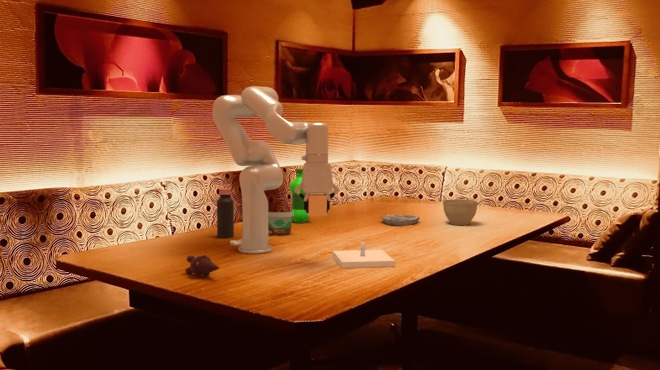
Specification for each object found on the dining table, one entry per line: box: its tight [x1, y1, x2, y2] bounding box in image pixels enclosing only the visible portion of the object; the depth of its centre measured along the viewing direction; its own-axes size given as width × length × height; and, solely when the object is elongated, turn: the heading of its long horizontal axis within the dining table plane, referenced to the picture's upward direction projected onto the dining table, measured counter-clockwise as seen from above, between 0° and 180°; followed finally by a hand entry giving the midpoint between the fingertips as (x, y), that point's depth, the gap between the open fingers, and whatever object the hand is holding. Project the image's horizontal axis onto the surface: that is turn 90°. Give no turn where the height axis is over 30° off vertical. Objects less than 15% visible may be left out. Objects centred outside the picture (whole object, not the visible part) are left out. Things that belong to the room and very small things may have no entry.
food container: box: [268, 210, 294, 237], centre depth 269 cm, size 12×6×10 cm, turn 105°
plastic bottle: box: [289, 168, 311, 224], centre depth 301 cm, size 10×10×25 cm
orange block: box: [307, 193, 328, 218], centre depth 217 cm, size 6×6×7 cm
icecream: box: [185, 254, 220, 279], centre depth 199 cm, size 7×7×15 cm
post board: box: [332, 241, 396, 269], centre depth 222 cm, size 18×18×6 cm
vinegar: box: [216, 187, 235, 239], centre depth 262 cm, size 7×7×20 cm
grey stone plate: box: [380, 214, 421, 227], centre depth 303 cm, size 20×17×3 cm
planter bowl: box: [442, 198, 479, 226], centre depth 301 cm, size 16×16×11 cm
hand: (316, 211), depth 217 cm, fingers closed on orange block, 5 cm apart
